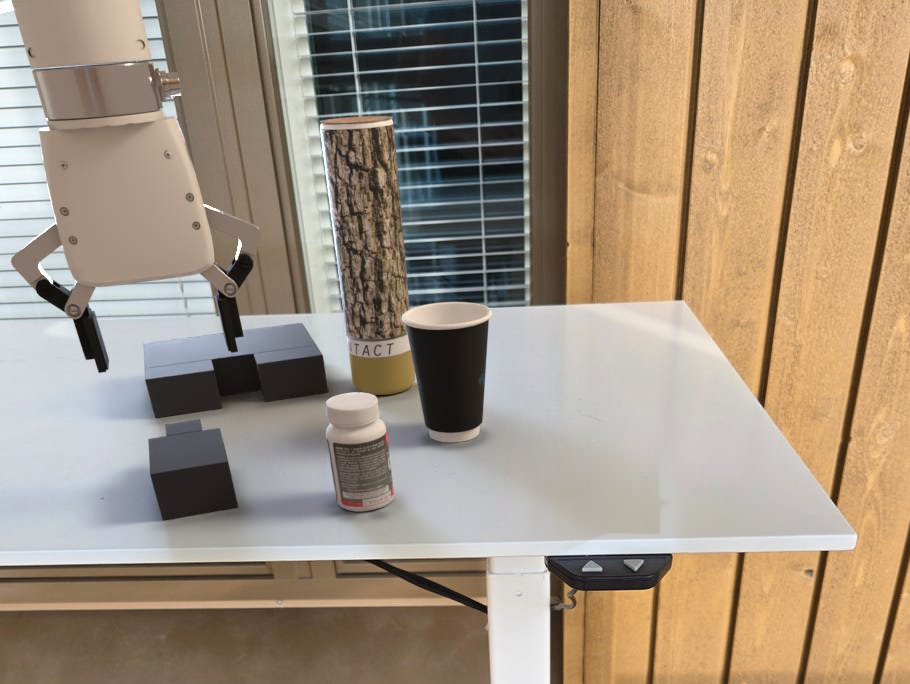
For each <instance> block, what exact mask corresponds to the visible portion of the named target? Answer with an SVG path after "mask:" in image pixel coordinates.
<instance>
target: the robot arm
mask: <svg viewBox="0 0 910 684" xmlns="http://www.w3.org/2000/svg"><path fill="white" fill-rule="evenodd" d="M10 11H11V12H12V11H13V12H14V16H15V18H16V22H17V25H18V29H19V32H20V36H21V40H22V43H23V46H24V48H25V53H26V56H27V59H28V62H29V66H30V69H31V70H32V71H31V72H32V76H33V81H34V83H35V86H36V90H37V93H38V97H39V100H40V103H41V107H42V110H43V113H44V117H45V119H46V124H47V127H41V128H38V138H39V146H40V152H41V158H42V165H43V171H44V176H45V181H46V186H47V190H48V191H47V192H48V195H49V199H50V204H51V208H52V212H53V217H54V220H55V222H53V223H52V224H51V225H50V226H49V227H47V228H46V229H44V230H43V231H42V232H40V234H38V235H37V236H35V237H34V238H32V240H30V241H29V242H27V244H25V245H24V246H22V247H21V248H20V249H18V250H17V251H16V252H15V253H13V255H12V257H11V260H10V263H11V266H12V267H13V269H15V271H16V272H17V273H18V274H19V275H20V276H21V277H22V278H23V279H24V280H25V282H27V283H28V285H29V286H31V288H32V289H34V291H35V292H36V294H37V295H38V296H39V297H40V298H41V299H43V300H44V301H46V302H48V303H49V304H51V305H52V306H54V307H55V308H57V309H59V310H60V311H62V312H63V313H65V315H66V316H67V317H68V318H70V319H72V321H73V324H74V328H75V331H76V335H77V337H78V340H79V344H80V348H81V351H82V353H83V357H84V358H85V361H90V360H94V362H95V365H96V369H97V372H98V373H99V374H101V373H107V371H108V370H109V369H110V358H109V355H108V352H107V349H106V345H105V342H104V338H103V334H102V331H101V328H100V325H99V322H98V319H97V315H96V312H95V310H92V308H90V303H89V302H90V301H91V299H92V296H93V294H94V292H95V290H96V288H106V287H115V286H125V285H131V284H140V283H146V282H153V281H162V280H169V279H170V280H171V279H176V278H184V277H189V276H195V275H200V276H202V277H203V278H204V279H205V280H206V281H208V282H209V283H210V284H211V285H212V286H213V287H214V288H216V293H215V294H214V298H215V303H216V307H217V311H218V315H219V320H220V325H221V330H222V333H223V334H224V338H225V343H226V346H227V349H228V351H231V353H233V352H238V349H237V344H236V340H235V338H239V337H244V335H243V330H244V329H243V326H242V322H241V316H240V312H239V311H240V310H239V306H238V302H237V297H236V296H237V295H238V293H239V290H240V288H241V287H242V286H243V283H244V282H245V281H246V280H247V278H248V277H249V275H250V274H251V271H252V270H253V268H254V262H255V259H256V256H257V253H258V249H259V246H260V242H261V238H262V231H261V229H260V228H259V226H258V225H257V224H254V223H252V222H250V221H247V220H245V219H242V218H240V217H237V216H234V215H232V214H230V213H227V212H225V211H222V210H220V209H217V208H215V207H212V206H209V205H207V204H204V199H203V196H202V192H201V189H200V184H199V181H198V177H197V174H196V170H195V167H194V163H193V161H192V158H191V154H190V151H189V148H188V145H187V142H186V139H185V136H184V133H183V132H182V129H181V125H180V124H179V122H178V119H177V117H176V116H173V115H166V114H165V110H164V106H163V103H166V102H167V99H172V96H174V97H175V96H183V92H182V87H181V82H180V78H179V74H178V72H177V71H172V72H166V70H160V68H159V67H156V68H155V66H154V62H150V61H151V60H153V58H152V54H151V49H150V45H149V41H148V36H147V31H146V28H145V22H144V19H143V14H142V9H141V5H140V1H139V0H0V14H2V13H7V12H10ZM211 229H214V230H216V231H219V232H221V233H224V234H227V235H229V236H231V237H235V238H236V239H238V246H237V251H236V254H235V255H234V258H232V260H231V261H230V263H229V264H228V266H227V268H226V269H225V268H224V267H223V266H221V265H220V264H219V263H218V262H217V261H216V260H215V250H214V241H213V237H212V232H211ZM60 247H62V251H63V254H64V258H65V260H66V264H67V267H68V269H69V271H70V274H71V276H72V278H73V279H74V280H75V281H74V283H73V285H72V286H71V289H70V290H69V289H68V288H66V287H65V286H63V285H62V284H60V283H59V282H57V281H56V280H54V279H53V278H51V277H50V276H49V275H48V274H47V273H46V271H45V270H44V269H43V268H42V266H41V262H42V261H43V260H44V259H45V258H47V257H49V255H51V254H52V253H53V252H55V251H56V250H57V249H59V248H60Z"/></svg>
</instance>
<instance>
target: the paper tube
mask: <svg viewBox="0 0 910 684" xmlns="http://www.w3.org/2000/svg"><path fill="white" fill-rule="evenodd" d="M393 118H394V117H393V116H389V115H365V116H362V115H361V116H348V117H338V118H329V119H322V120H319V123H320V125H319V130H320V131H319V132H320V139H321V147H322V153H323V154H322V155H323V161H324V162H323V163H324V169H325V170H324V171H325V178H326V185H327V186H326V187H327V193H328V195H327V196H328V201H329V209H330V219H331V226H332V233H333V234H332V235H333V240H334V242H333V243H334V249H335V257H336V265H337V271H338V280H339V287H340V296H341V303H342V312H343V319H344V327H345V333H346V342H347V343H346V344H347V350H348V355H349V356H348V357H349V365H350V372H351V380H352V385H353V387H354V388H355V389H356V390H357V392H362V393H369V394H372V395H374V396H387V395H388V396H389V395H394V394H398V393H401V392H404V391H407V390H409V389H410V388H412V386H413V385H415V381H416V375H415V369H414V364H413V359H412V354H411V349H410V344H409V339H408V334H407V328H406V324H405V323H404V322H403V321H402V315H403V314H404V313H405V312H406V311H408V310H410V309H411V307H410V306H411V305H410V297H409V285H408V273H407V260H406V251H405V250H406V249H405V238H404V226H403V214H402V204H401V192H400V180H399V168H398V167H399V166H398V157H397V156H398V155H397V146H396V145H397V144H396V133H395V125H394V121H393Z"/></svg>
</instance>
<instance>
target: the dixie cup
mask: <svg viewBox="0 0 910 684" xmlns="http://www.w3.org/2000/svg"><path fill="white" fill-rule="evenodd" d="M492 316H493V312H492V309H491V308H490V307H488V306H487V305H483V304H480V303H475V302H467V301H446V302H445V301H444V302H434V303H428V304H422V305H418V306H416V307H412V308H410V310H408V311H406V312H405V313H404V314H403V315H402V321H403V322H404V323H405V324H406V328H407V334H408V339H409V344H410V349H411V354H412V359H413V364H414V369H415V381H416V384H417V391H418V394H419V399H420V405H421V410H422V415H423V420H424V421H423V422H424V424H425V427H426V428H427V430H428V434H429V438H431V439H432V440H434V441H437V442H441V443H448V444H449V443H461V442H462V443H463V442H466V441H471V440H473V439H475V438H476V437H478V436H479V435H480V431H481V424H483V420H484V404H485V403H484V402H485V388H486V373H487V372H486V371H487V370H486V369H487V357H488V356H487V355H488V340H489V339H488V338H489V325H490V324H489V323H490V319H491V318H492Z"/></svg>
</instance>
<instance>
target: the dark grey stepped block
mask: <svg viewBox="0 0 910 684" xmlns="http://www.w3.org/2000/svg"><path fill="white" fill-rule="evenodd" d="M164 426H165V435H163V436H159V437H151V438H148V440H147V441H148V457H149V459H148V460H149V476H150V480H151V483H152V486H153V490H154V493H155V498H156V501H157V504H158V509H159V512H160V515H161V519H162V521H166V520H173V519H179V518H184V517H189V516H195V515H201V514H206V513H211V512H217V511H223V510H230V509H235V508H238V507H239V504H238V499H237V495H236V490H235V485H234V481H233V477H232V473H231V472H232V471H231V467H230V463H229V458H228V455H227V450H226V447H225V442H224V438H223V434H222V430H221V428H220V427H216V428H209V429H204V430H203V425H202V421H201V419H200V418H198V419H197V418H196V419H192V420H185V421H179V422H172V423H166V424H165V425H164Z"/></svg>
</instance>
